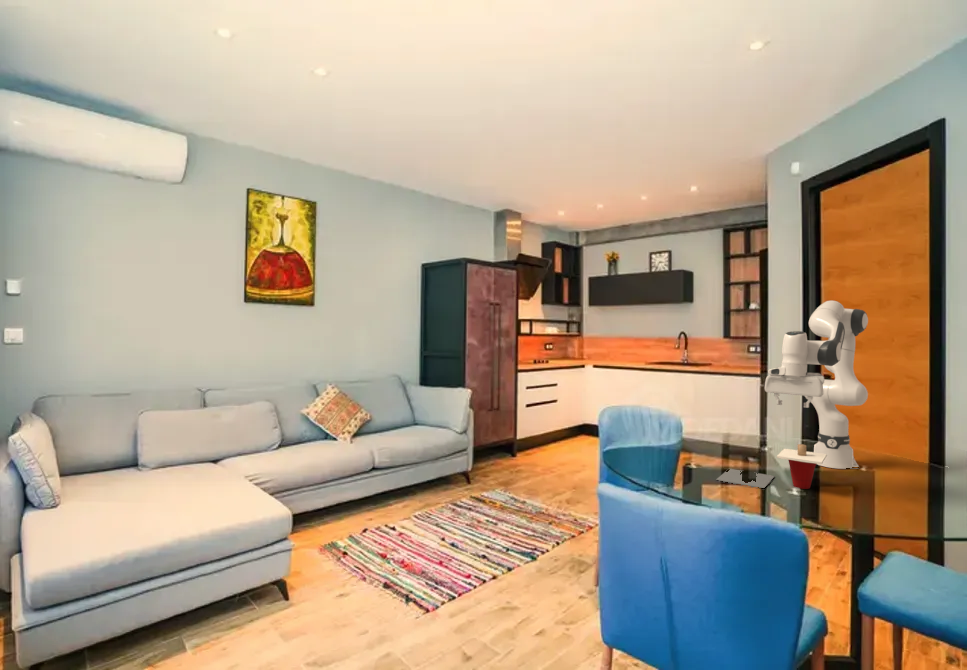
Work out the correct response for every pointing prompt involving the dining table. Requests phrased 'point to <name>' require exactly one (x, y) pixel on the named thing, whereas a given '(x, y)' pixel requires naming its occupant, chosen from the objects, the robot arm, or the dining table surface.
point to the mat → (736, 478)
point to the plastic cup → (801, 473)
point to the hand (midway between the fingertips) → (792, 406)
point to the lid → (802, 455)
